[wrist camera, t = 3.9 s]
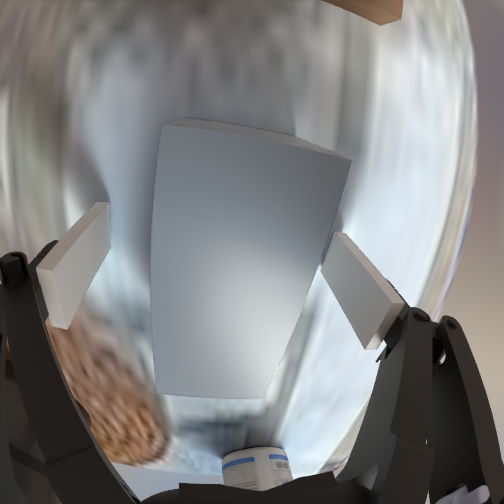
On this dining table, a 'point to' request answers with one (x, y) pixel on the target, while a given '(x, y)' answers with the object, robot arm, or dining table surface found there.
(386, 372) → the robot arm
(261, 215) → the block
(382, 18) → the board
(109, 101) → the dining table surface
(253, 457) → the supplement tub
